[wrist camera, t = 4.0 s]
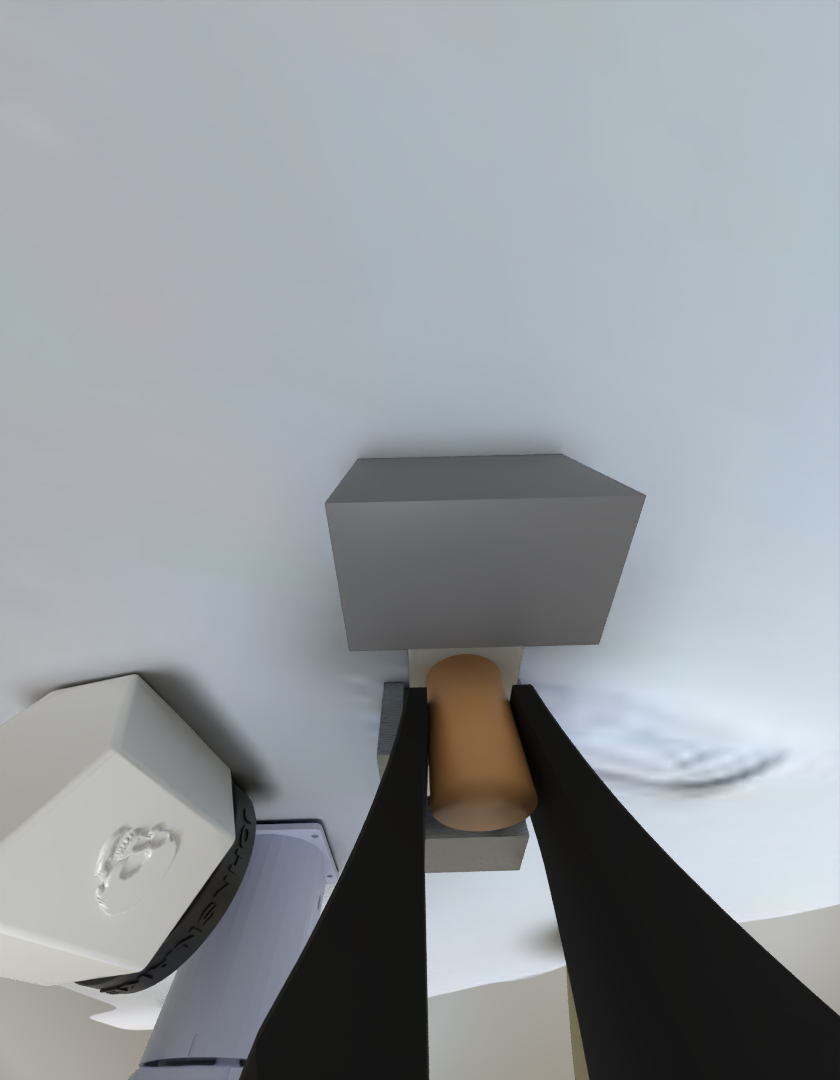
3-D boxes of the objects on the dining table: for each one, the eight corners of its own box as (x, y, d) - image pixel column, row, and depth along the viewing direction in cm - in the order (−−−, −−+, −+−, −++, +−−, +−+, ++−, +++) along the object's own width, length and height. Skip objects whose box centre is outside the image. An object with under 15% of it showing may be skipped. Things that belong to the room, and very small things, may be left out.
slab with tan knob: (485, 732, 18) (521, 912, 12) (415, 733, 18) (415, 915, 12) (510, 523, 12) (608, 668, 6) (405, 526, 12) (396, 673, 6)
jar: (176, 696, 14) (291, 814, 19) (103, 652, 17) (217, 762, 23) (-229, 1054, 7) (128, 1071, 13) (-199, 855, 11) (63, 937, 17)
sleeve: (499, 791, 21) (516, 877, 18) (396, 794, 21) (392, 881, 17) (519, 679, 16) (549, 766, 13) (384, 683, 16) (375, 771, 13)
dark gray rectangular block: (542, 563, 13) (598, 644, 9) (369, 568, 13) (349, 651, 9) (562, 453, 11) (646, 495, 7) (357, 459, 11) (324, 503, 7)
